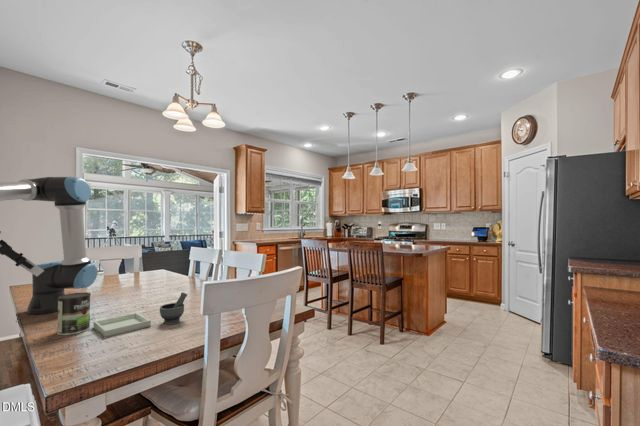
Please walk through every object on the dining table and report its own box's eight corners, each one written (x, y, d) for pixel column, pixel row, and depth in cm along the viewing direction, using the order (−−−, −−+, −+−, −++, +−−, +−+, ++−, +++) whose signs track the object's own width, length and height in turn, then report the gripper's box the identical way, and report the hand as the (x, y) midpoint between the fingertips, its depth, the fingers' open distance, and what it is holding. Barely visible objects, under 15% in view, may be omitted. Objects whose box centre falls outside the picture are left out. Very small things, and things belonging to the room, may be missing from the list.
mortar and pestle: (163, 327, 126) (163, 298, 126) (156, 321, 133) (156, 294, 133) (190, 321, 134) (191, 293, 134) (183, 316, 141) (183, 289, 141)
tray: (93, 327, 126) (93, 321, 126) (136, 318, 138) (136, 312, 138) (104, 337, 115) (105, 331, 115) (150, 326, 127) (150, 320, 127)
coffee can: (96, 327, 127) (96, 292, 127) (71, 336, 117) (72, 299, 117) (76, 325, 129) (76, 291, 129) (49, 334, 119) (50, 297, 119)
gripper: (-34, 239, 110) (23, 275, 121) (-34, 242, 93) (32, 284, 104) (-11, 224, 114) (42, 260, 125) (-8, 224, 98) (53, 266, 108)
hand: (37, 271), depth 115 cm, fingers open, 13 cm apart
